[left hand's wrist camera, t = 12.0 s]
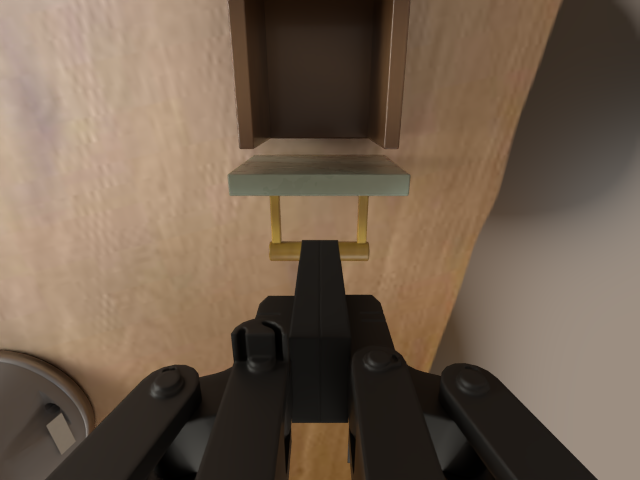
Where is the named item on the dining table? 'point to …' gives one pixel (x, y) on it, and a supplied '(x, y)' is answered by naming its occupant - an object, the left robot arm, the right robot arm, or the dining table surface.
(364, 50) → the drawer
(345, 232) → the dining table surface
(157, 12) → the dining table surface
